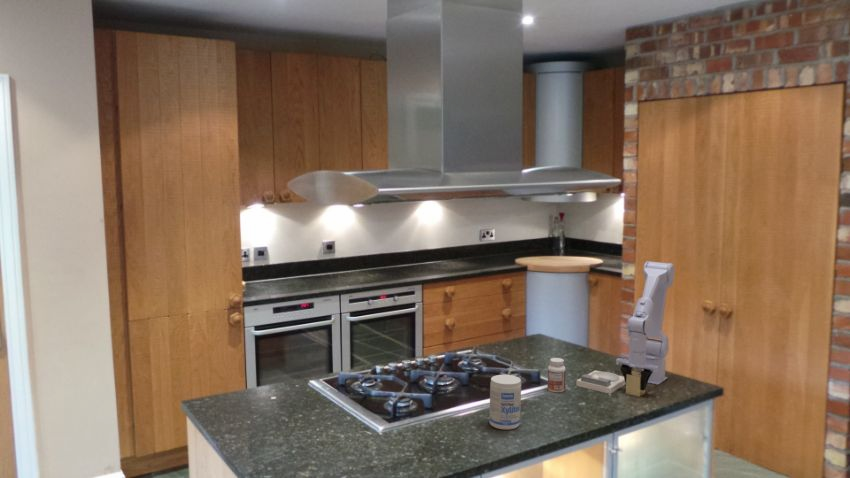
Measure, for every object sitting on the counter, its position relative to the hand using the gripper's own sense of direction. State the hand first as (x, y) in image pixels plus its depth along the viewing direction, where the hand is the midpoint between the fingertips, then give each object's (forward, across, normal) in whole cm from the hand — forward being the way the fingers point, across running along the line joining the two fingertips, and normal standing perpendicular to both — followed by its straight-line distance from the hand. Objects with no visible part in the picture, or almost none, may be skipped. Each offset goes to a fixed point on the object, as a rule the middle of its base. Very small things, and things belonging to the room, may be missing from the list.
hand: (635, 387), depth 246 cm
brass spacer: (+2, 0, 0) cm, 2 cm away
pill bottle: (+2, -23, -15) cm, 28 cm away
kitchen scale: (+2, -13, +1) cm, 13 cm away
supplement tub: (+2, -20, -53) cm, 57 cm away
